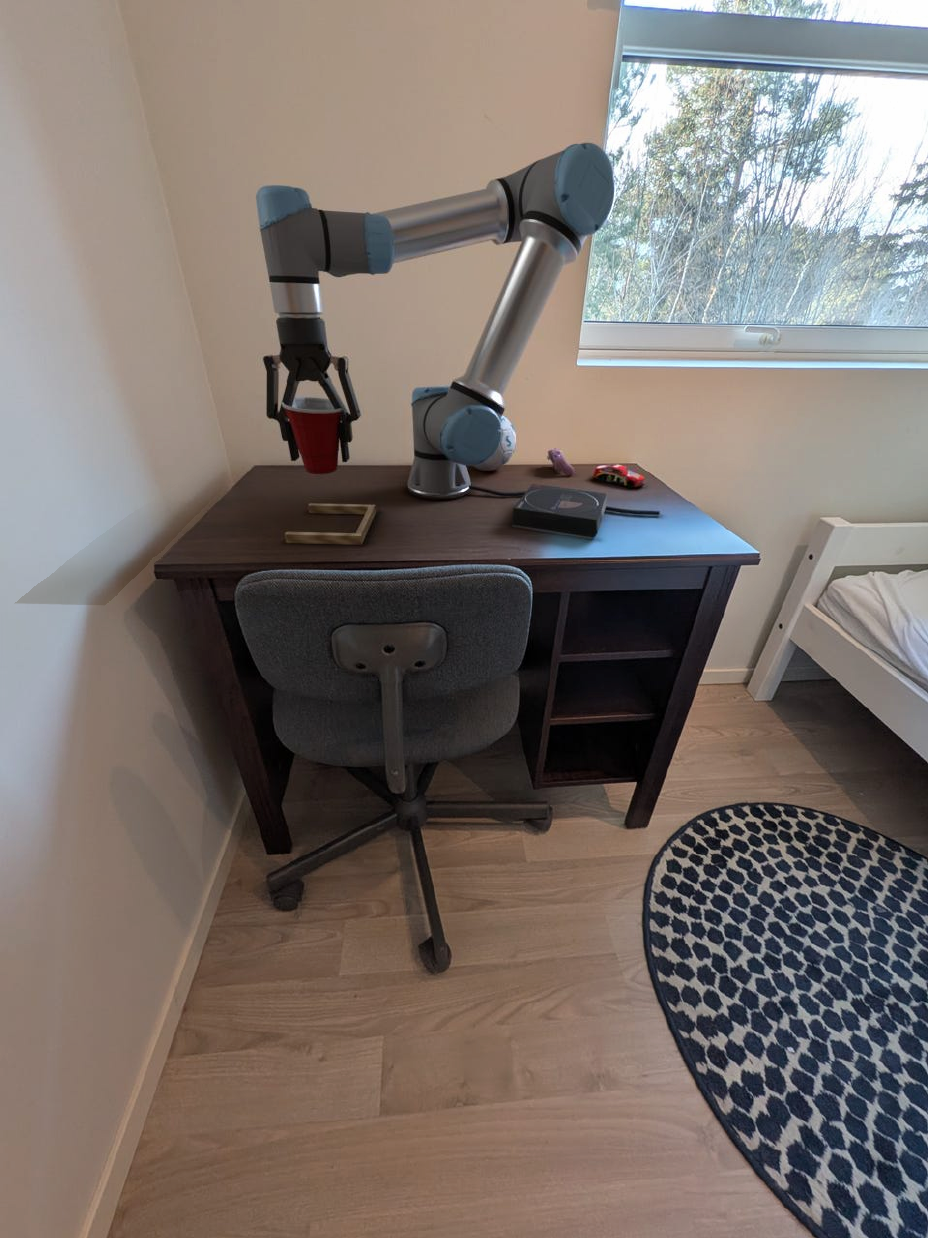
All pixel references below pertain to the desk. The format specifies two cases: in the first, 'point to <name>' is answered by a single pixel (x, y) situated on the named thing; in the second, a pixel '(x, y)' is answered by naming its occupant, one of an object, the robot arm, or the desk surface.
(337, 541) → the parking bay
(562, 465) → the purple animal figurine
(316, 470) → the plastic cup
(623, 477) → the race car
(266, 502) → the desk surface
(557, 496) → the portable cd player
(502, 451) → the puzzle ball
